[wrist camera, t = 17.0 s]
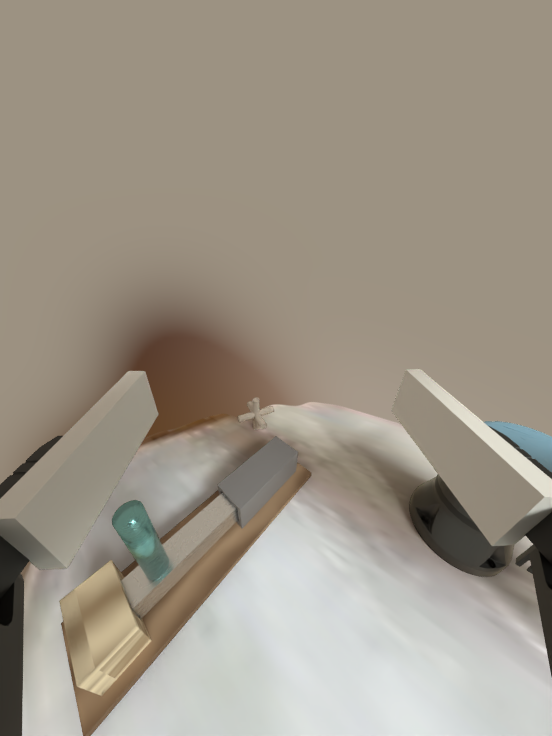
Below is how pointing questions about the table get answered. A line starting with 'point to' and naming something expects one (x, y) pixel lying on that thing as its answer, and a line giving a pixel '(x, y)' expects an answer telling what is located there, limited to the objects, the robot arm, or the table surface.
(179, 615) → the base board
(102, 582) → the socket block
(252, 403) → the pipe connector
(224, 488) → the outer sleeve
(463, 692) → the table surface
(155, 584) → the bar with teal cylinder
